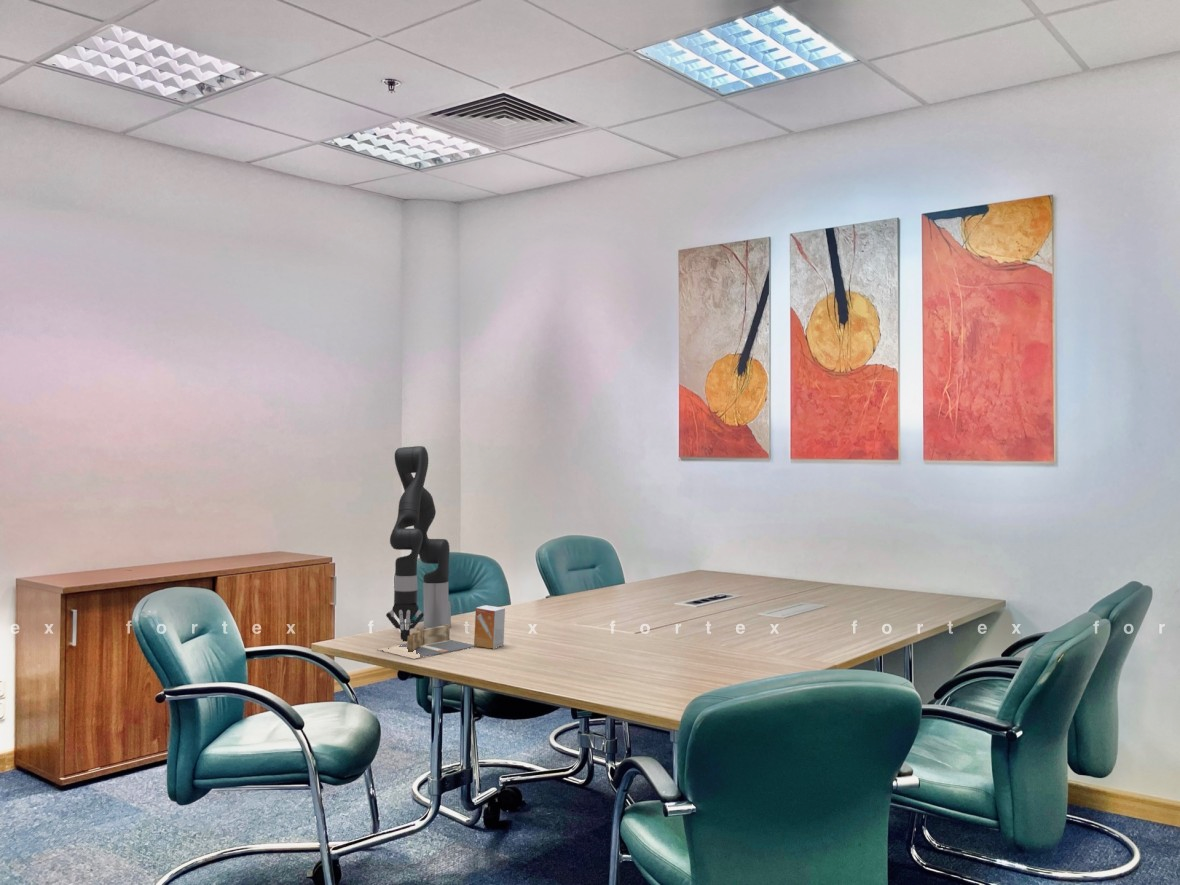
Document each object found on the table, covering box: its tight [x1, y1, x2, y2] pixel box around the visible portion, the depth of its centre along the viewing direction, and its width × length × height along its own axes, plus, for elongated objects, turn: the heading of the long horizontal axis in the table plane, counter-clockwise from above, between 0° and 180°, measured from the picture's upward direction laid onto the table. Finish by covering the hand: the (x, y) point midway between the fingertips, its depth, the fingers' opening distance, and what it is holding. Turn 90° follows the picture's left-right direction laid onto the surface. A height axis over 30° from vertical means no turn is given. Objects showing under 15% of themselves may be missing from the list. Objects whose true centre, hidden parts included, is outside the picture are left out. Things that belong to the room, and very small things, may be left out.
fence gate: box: [406, 629, 421, 652], centre depth 323 cm, size 11×2×5 cm, turn 174°
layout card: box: [388, 639, 477, 657], centre depth 327 cm, size 26×21×1 cm
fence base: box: [416, 624, 450, 646], centre depth 334 cm, size 13×2×6 cm, turn 136°
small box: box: [473, 604, 506, 649], centre depth 330 cm, size 8×6×13 cm
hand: (405, 640), depth 322 cm, fingers closed
